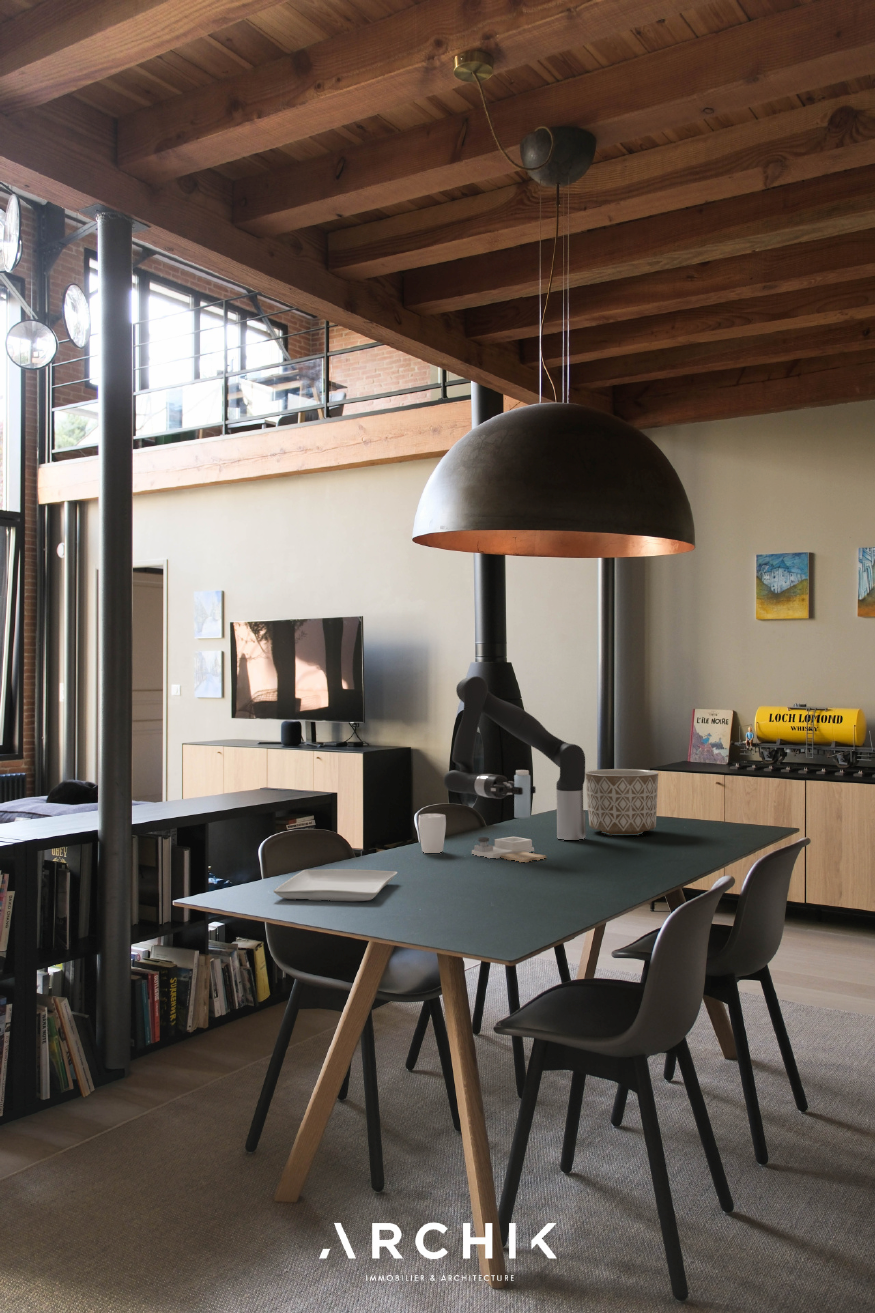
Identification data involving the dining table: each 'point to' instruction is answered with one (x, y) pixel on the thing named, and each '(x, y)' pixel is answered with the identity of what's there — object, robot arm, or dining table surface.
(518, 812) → the bottle
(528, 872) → the dining table surface
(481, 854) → the housing
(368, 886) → the square plate
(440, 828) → the cup
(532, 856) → the coaster
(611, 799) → the planter
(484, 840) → the plunger
